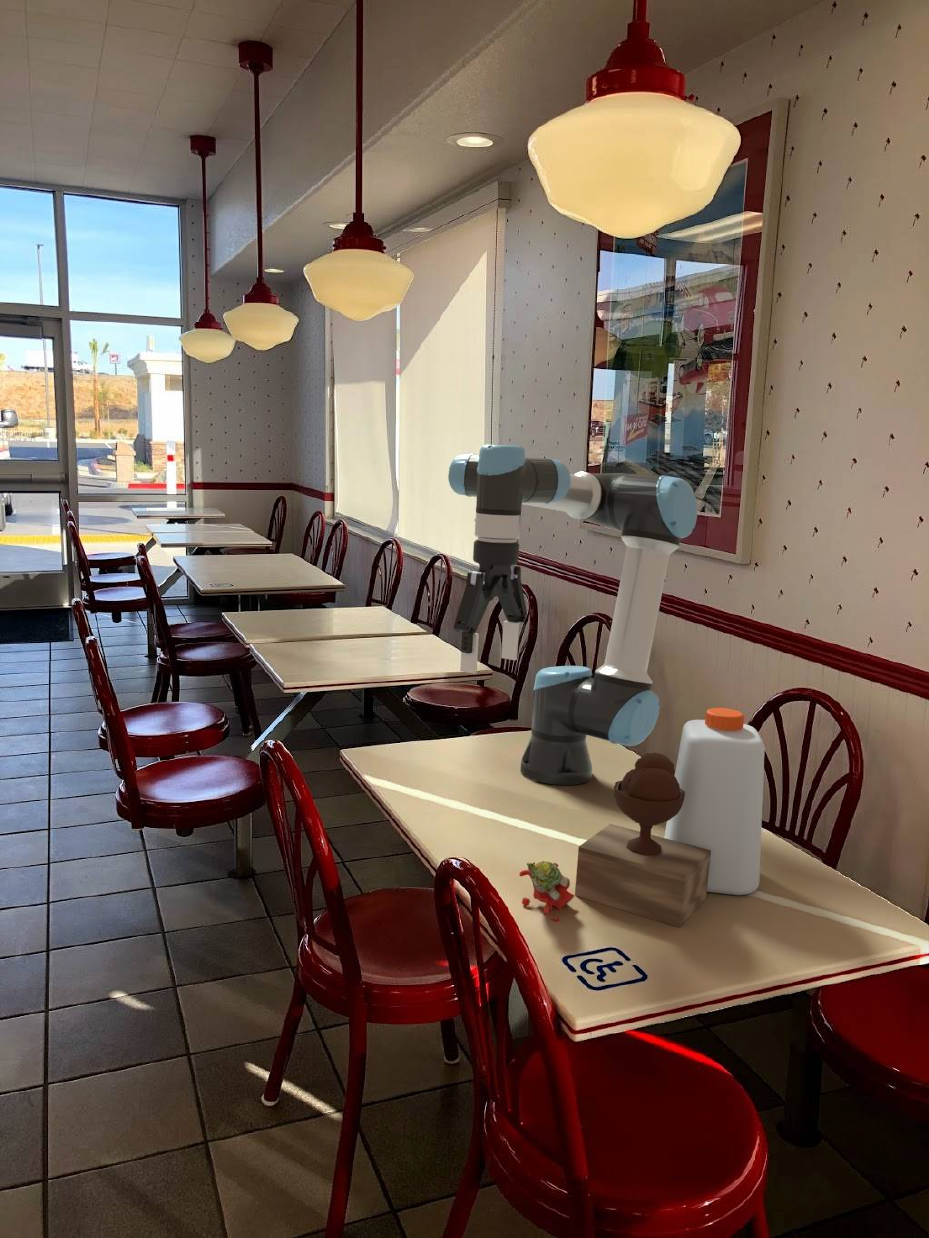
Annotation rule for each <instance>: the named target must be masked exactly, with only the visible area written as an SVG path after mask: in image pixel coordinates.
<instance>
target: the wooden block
mask: <svg viewBox="0 0 929 1238" xmlns="http://www.w3.org/2000/svg"><path fill="white" fill-rule="evenodd" d="M639 836H640V830H635V829H631V828H627V827H624V826H619V825H616V824H612V823H609V824H607V826H605V827H603V828H602V829H601V830H599V831H598V832H597V833H595V834H594V835H592V836H591V837H590V838H588V839H587V840H586V841H584V842H583V843H581V844H580V845H579V846H578V849H577V851H578V852H577V862H576V863H577V865H576V876H575V889H574V896H575V897H579V898H583V899H586V900H589V901H592V902H595V903H600V904H602V905H605V906H609V907H613V908H614V909H618V910H622V911H624V912H628V913H631V914H635V915H637V916H641V917H643V918H647V919H651V920H654V921H657V922H661V923H664V924H667V925H671V926H672V927H677V928H679V929H680V928H681V927H682V926H683V925H684V923H685V922H686V921H688V919H689V918H690V917H691V916H692V915H693V913H695V912H696V910H697V909H698V908H699V907H700V906H701V905H702V904H703V902H704V901H705V900H706V899H707V884H708V875H709V865H710V856H711V850H708V849H704V848H700V847H696V846H693V845H689V844H685V843H681V842H677V841H674V840H670V839H666V838H664V837H661V836H658V835H654V834H651V839H653V840H654V841H656V842H657V843H658V844H660V845H661V848H662V850H661V853H659V854H657V855H640V854H637V853H633V852H631V851H630V850H629V849H627V848H626V847H627V843H628V841H629V840H631V839H634V838H637V837H639Z"/></svg>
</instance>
